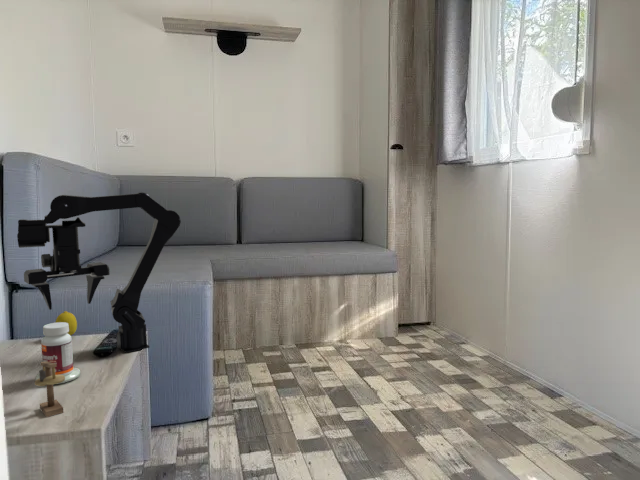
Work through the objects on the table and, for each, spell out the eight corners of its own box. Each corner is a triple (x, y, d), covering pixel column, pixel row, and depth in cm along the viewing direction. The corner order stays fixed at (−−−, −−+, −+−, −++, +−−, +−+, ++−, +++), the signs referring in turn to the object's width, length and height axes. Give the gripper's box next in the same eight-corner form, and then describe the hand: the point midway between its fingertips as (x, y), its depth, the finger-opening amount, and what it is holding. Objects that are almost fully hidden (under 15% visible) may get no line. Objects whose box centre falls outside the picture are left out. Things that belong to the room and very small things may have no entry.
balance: (34, 403, 104) (30, 353, 103) (54, 398, 107) (50, 349, 105) (48, 423, 96) (45, 368, 95) (69, 417, 98) (66, 364, 97)
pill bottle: (37, 377, 115) (33, 328, 114) (56, 367, 121) (52, 320, 120) (61, 379, 114) (58, 329, 113) (79, 369, 120) (76, 322, 119)
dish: (73, 368, 124) (73, 363, 124) (85, 379, 117) (85, 374, 117) (31, 377, 118) (31, 373, 118) (41, 389, 111) (41, 384, 111)
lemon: (56, 342, 144) (54, 314, 143) (56, 337, 149) (54, 310, 148) (78, 339, 146) (76, 312, 145) (77, 334, 151) (75, 307, 150)
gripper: (94, 239, 141) (97, 295, 143) (16, 245, 129) (21, 306, 131) (108, 243, 133) (111, 302, 135) (27, 250, 121) (31, 315, 123)
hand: (70, 306), depth 131 cm, fingers open, 9 cm apart
